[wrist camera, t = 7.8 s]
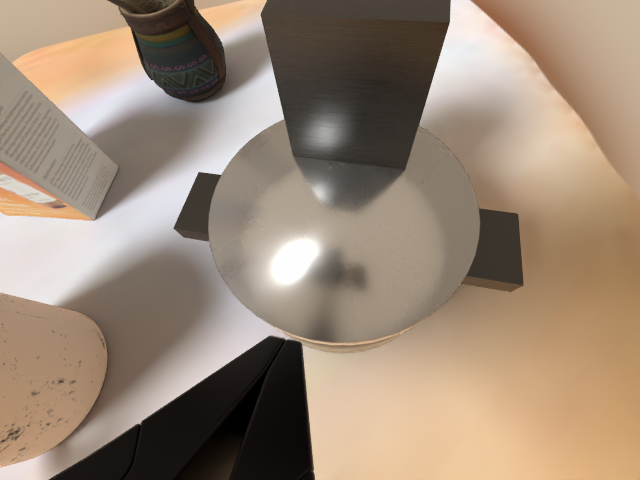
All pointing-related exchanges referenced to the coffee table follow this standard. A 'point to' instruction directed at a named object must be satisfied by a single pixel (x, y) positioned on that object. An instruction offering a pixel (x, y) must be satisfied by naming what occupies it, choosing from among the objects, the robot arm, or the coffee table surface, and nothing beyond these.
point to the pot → (485, 271)
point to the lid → (347, 178)
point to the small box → (46, 156)
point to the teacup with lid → (45, 375)
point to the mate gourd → (176, 46)
